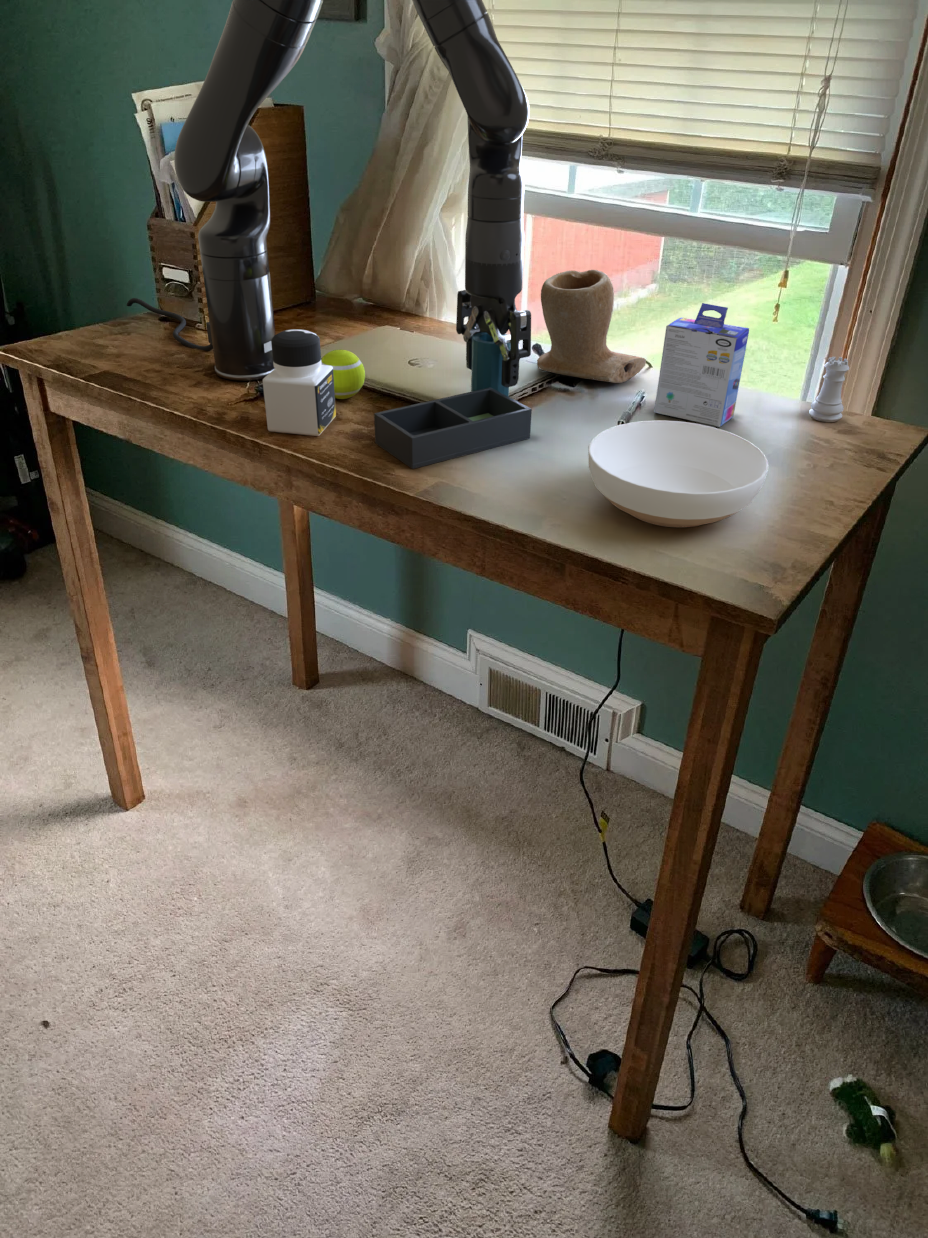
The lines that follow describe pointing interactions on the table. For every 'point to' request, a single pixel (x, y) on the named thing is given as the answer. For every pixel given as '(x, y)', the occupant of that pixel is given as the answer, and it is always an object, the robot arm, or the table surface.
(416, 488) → the table surface
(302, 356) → the medicine bottle
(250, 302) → the robot arm
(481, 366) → the jar
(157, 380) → the table surface
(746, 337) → the ink cartridge box
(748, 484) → the bowl
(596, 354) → the clay platform pipe
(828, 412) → the rook chess piece
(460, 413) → the divided tray
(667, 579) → the table surface
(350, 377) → the tennis ball
